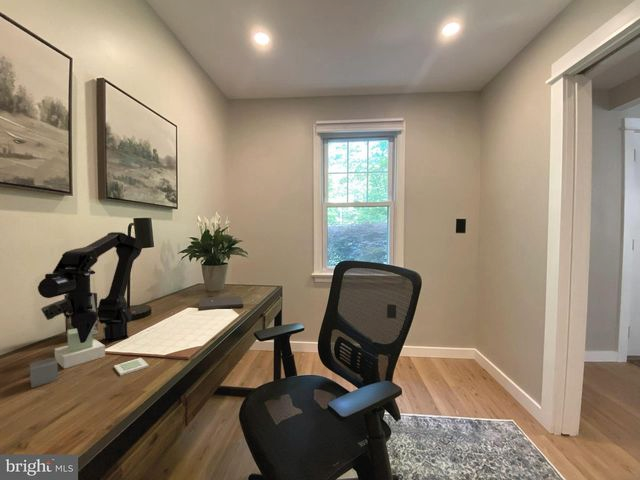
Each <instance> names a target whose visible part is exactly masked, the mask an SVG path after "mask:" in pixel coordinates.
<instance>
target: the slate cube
mask: <svg viewBox="0 0 640 480" xmlns="http://www.w3.org/2000/svg"><path fill="white" fill-rule="evenodd" d="M58 364H59V363H58V362H57V360H56V358H55V356H53V357H49V358H46V359H45V358H44V359H41V360H38V361H34V362H30V363H29V378H30V379H29V380H30V386H31V388H36V387H40V386H43V385H46V384H50V383H53V382H56V381H59V375H58V374H59V367H58Z"/></svg>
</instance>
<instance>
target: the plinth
mask: <svg viewBox="0 0 640 480" xmlns="http://www.w3.org/2000/svg"><path fill="white" fill-rule="evenodd" d="M92 338H93V337H92ZM54 357H55V358H56V360H57V364H59V365H60V366H61V367H62V368H63V369H69V368H72V367H75V366H77V365H78V366H79V365H81V364H85V363H88V362H91V361H94V360H97V359H100V358H104V357H106V346H105V344H103V343H101V342H100V341H99V340H97V339H95V338H93V347H90V348H86V349H82V350H78V351H73V352H69V349H68V344H65V345H64V346H58V347H56V348H54Z"/></svg>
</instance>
